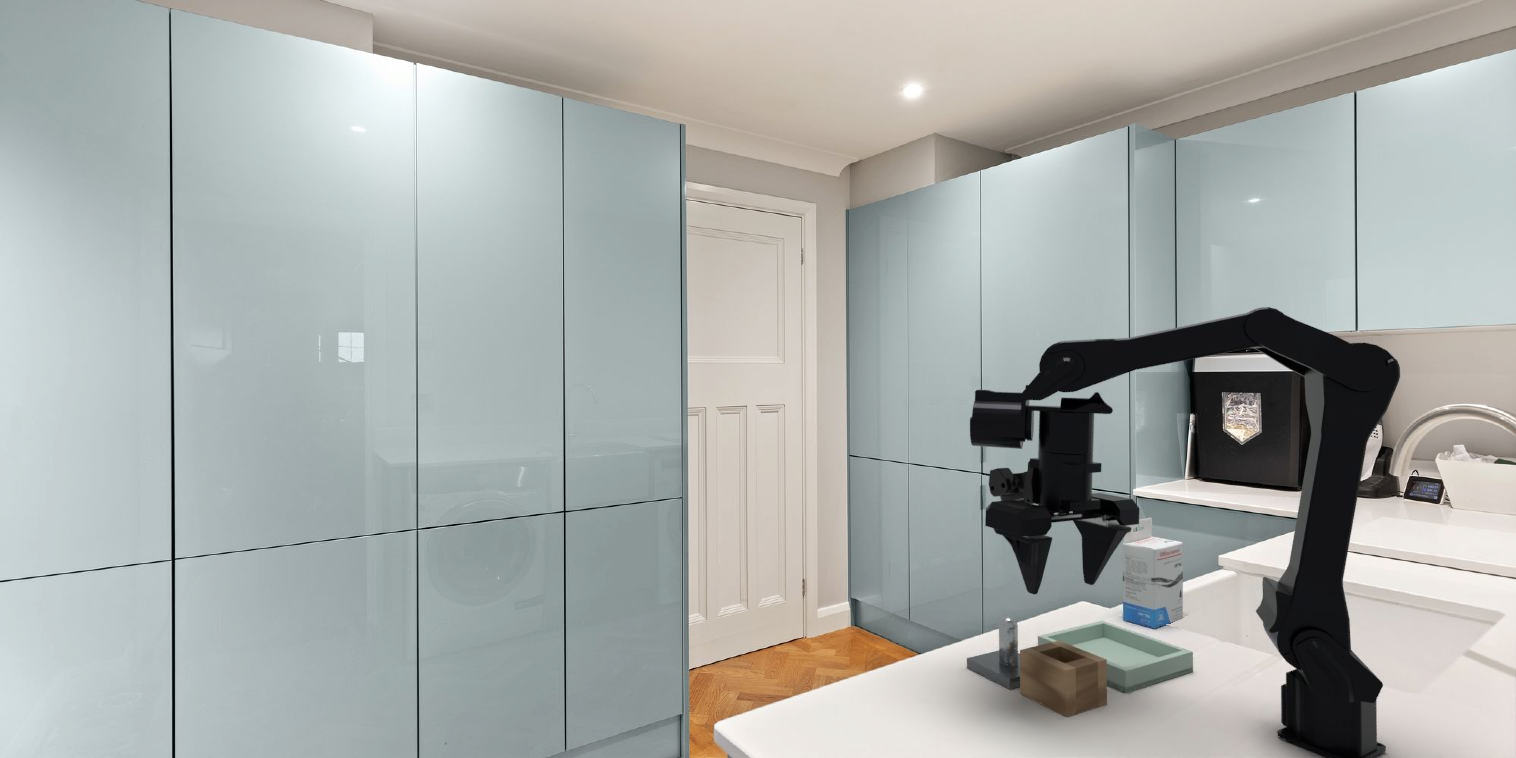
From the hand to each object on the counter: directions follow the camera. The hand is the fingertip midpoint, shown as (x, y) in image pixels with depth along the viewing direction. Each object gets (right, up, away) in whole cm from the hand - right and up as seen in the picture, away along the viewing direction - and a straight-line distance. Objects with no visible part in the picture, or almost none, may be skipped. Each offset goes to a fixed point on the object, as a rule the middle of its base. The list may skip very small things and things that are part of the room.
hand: (1061, 588), depth 79 cm
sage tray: (+11, -12, +9) cm, 19 cm away
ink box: (+25, -13, +26) cm, 38 cm away
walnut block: (0, -12, 0) cm, 12 cm away
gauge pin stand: (-4, -12, +7) cm, 15 cm away
